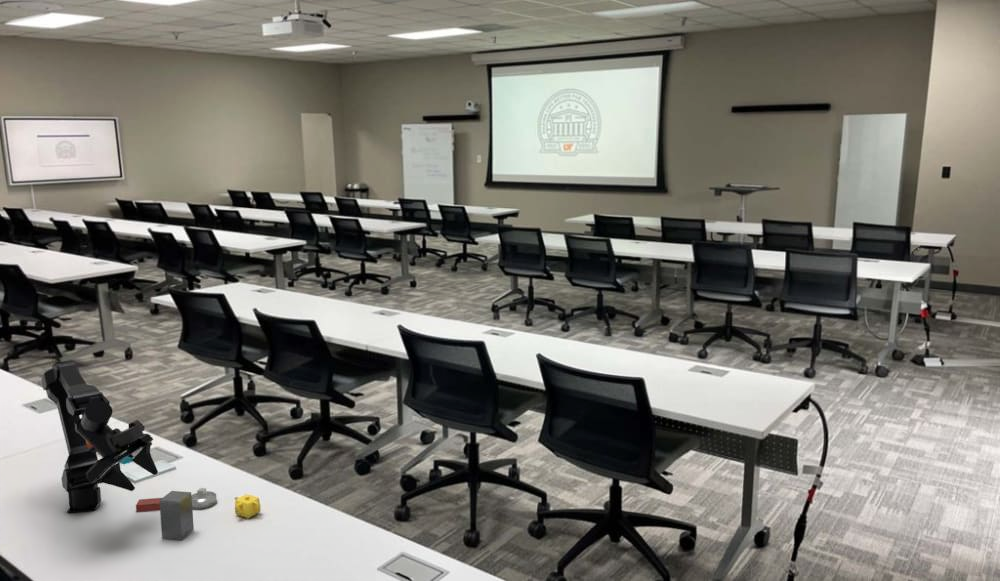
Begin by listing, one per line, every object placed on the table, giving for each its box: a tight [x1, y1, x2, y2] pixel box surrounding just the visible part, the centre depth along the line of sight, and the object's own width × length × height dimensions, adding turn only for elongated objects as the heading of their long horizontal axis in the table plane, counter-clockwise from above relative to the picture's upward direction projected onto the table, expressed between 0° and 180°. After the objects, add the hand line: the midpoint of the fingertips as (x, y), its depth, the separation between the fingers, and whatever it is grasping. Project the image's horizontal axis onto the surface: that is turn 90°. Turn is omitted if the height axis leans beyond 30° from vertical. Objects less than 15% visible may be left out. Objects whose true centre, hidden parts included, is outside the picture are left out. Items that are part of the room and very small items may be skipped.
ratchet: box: [135, 487, 218, 513], centre depth 193 cm, size 20×7×4 cm, turn 102°
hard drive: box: [122, 459, 177, 484], centre depth 214 cm, size 2×8×12 cm
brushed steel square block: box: [159, 490, 195, 541], centre depth 178 cm, size 5×5×10 cm
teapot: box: [234, 493, 261, 520], centre depth 189 cm, size 8×6×5 cm
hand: (145, 481), depth 178 cm, fingers open, 9 cm apart
